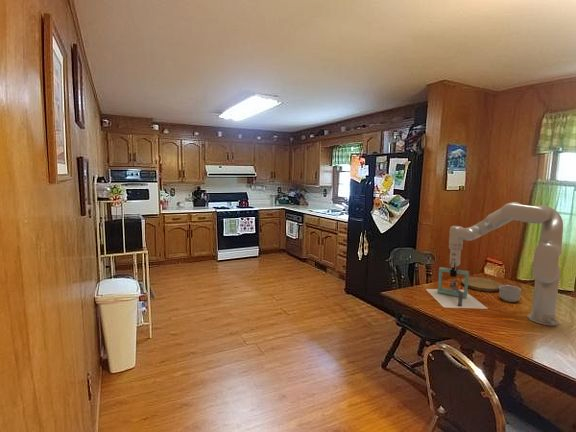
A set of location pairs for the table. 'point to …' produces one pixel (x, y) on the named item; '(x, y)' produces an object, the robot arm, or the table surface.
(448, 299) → the base board
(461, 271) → the teal rectangular frame
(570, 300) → the table surface
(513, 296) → the teacup
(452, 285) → the dark hinged linkage
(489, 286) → the plant saucer
